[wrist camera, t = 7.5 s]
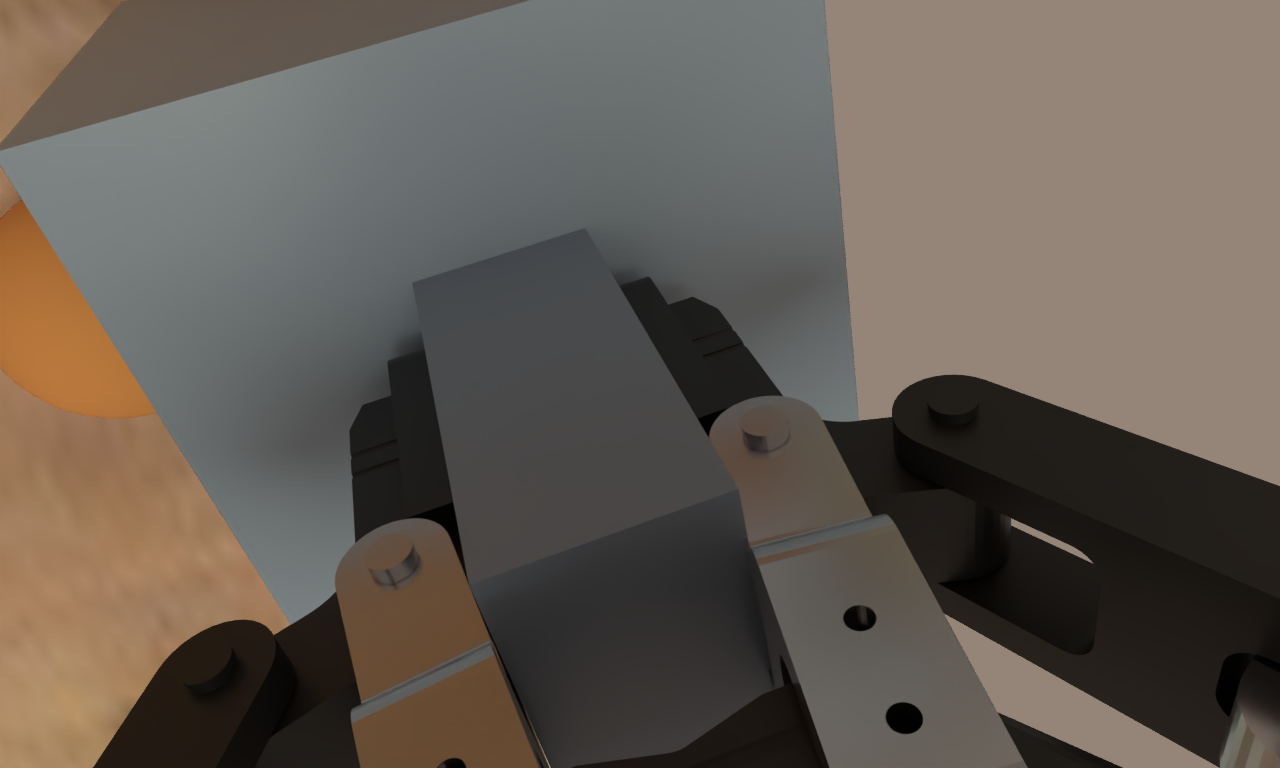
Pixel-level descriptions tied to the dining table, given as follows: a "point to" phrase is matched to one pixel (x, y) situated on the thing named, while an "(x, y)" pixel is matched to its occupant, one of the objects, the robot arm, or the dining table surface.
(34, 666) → the dining table surface
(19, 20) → the dining table surface
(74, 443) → the dining table surface
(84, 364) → the ball
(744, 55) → the grey block with handle
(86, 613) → the dining table surface
